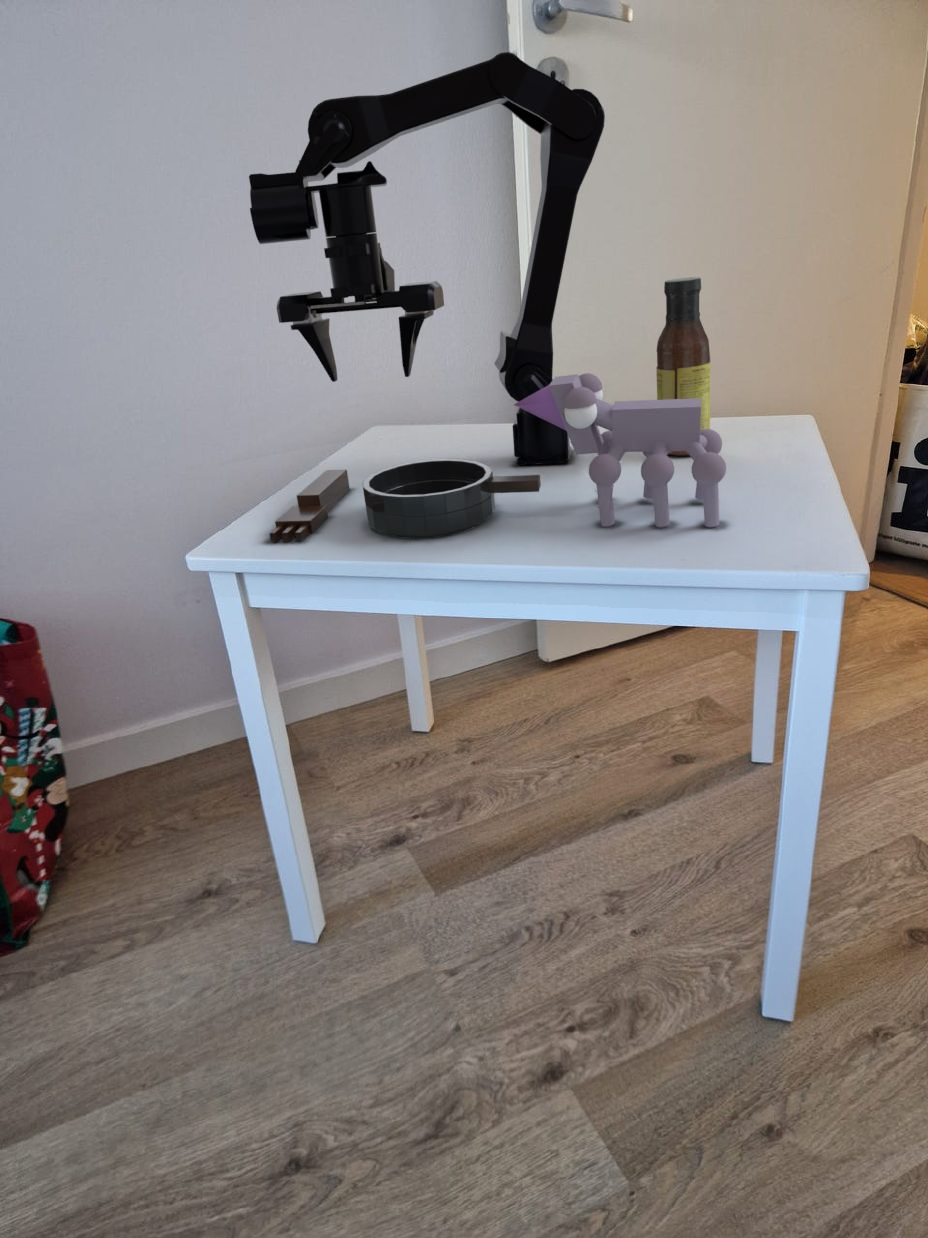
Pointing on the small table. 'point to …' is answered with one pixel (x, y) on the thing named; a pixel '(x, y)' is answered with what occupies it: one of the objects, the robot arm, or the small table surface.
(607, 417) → the toy sheep
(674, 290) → the sauce bottle
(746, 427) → the small table surface
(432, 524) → the pan
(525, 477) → the pan handle
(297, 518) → the fork
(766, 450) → the small table surface
